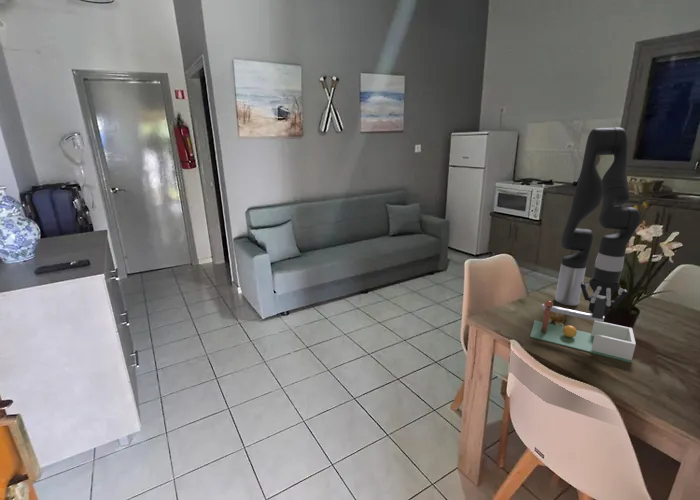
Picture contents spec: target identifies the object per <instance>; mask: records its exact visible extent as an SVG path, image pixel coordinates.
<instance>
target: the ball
mask: <svg viewBox="0 0 700 500" xmlns="http://www.w3.org/2000/svg"><path fill="white" fill-rule="evenodd" d="M564 326H565V327H564ZM564 326H563V327H564V328H563V334H564V335H565V336H566V337H569V338H572V337H574V336H576V334H577V329H576V327H575V326H573V325H570V324H568V325H564Z"/></svg>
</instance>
